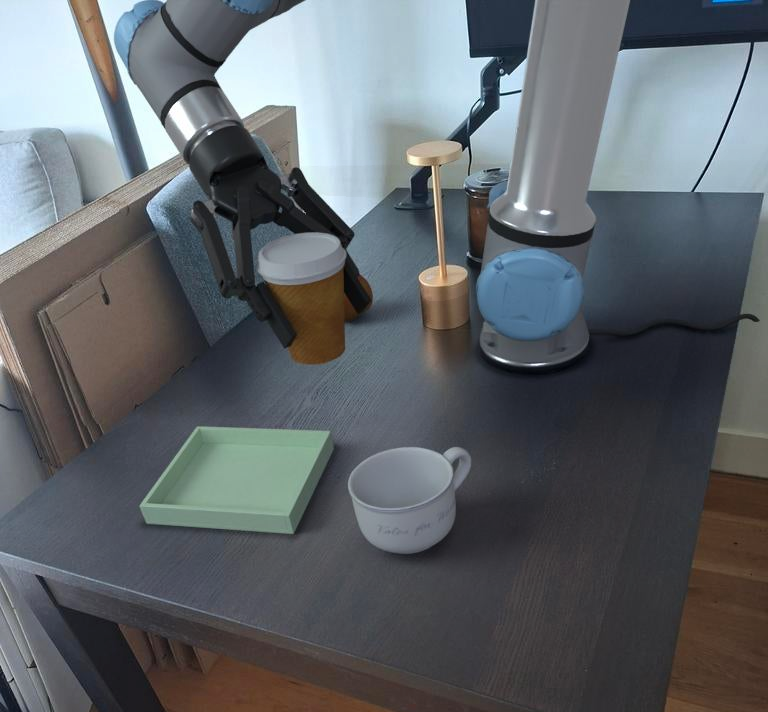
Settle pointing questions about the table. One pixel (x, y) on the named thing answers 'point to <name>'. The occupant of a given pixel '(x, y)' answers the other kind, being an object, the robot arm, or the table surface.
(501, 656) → the table surface
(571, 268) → the robot arm
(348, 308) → the apple
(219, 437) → the tray
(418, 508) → the teacup
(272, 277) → the disposable coffee cup
